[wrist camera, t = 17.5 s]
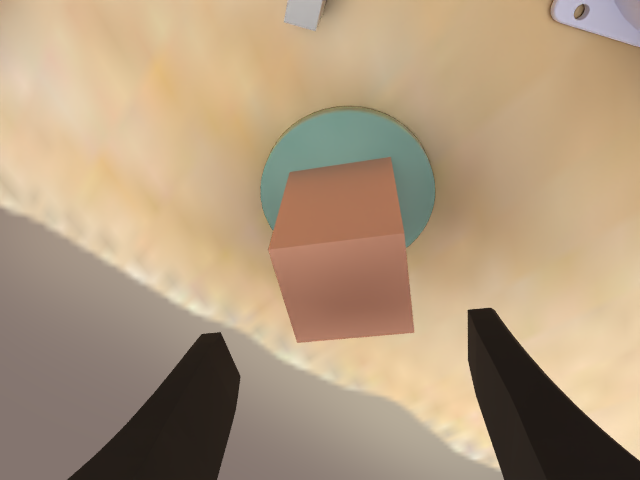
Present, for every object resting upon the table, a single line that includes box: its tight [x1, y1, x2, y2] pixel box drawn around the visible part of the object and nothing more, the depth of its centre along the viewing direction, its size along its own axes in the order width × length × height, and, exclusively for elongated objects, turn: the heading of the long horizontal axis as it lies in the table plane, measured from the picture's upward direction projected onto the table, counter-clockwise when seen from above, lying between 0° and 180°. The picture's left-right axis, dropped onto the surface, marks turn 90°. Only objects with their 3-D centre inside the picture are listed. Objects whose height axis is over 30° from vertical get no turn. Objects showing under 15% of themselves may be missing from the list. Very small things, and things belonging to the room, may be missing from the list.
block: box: [268, 157, 414, 343], centre depth 18 cm, size 4×4×6 cm
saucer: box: [261, 106, 435, 248], centre depth 20 cm, size 8×8×1 cm
